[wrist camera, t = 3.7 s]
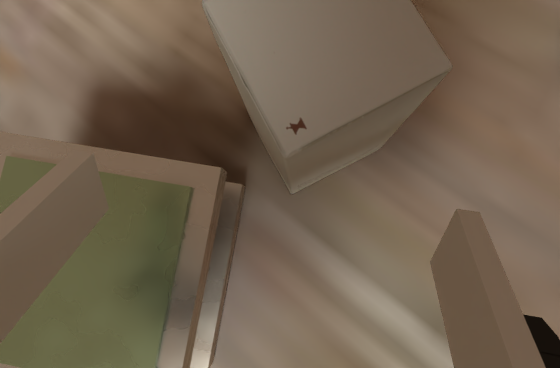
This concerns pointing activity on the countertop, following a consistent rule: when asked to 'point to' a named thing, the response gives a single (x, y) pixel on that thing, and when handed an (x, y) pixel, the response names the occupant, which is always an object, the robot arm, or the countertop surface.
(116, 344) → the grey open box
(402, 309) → the countertop surface
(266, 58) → the supplement box
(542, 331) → the robot arm
